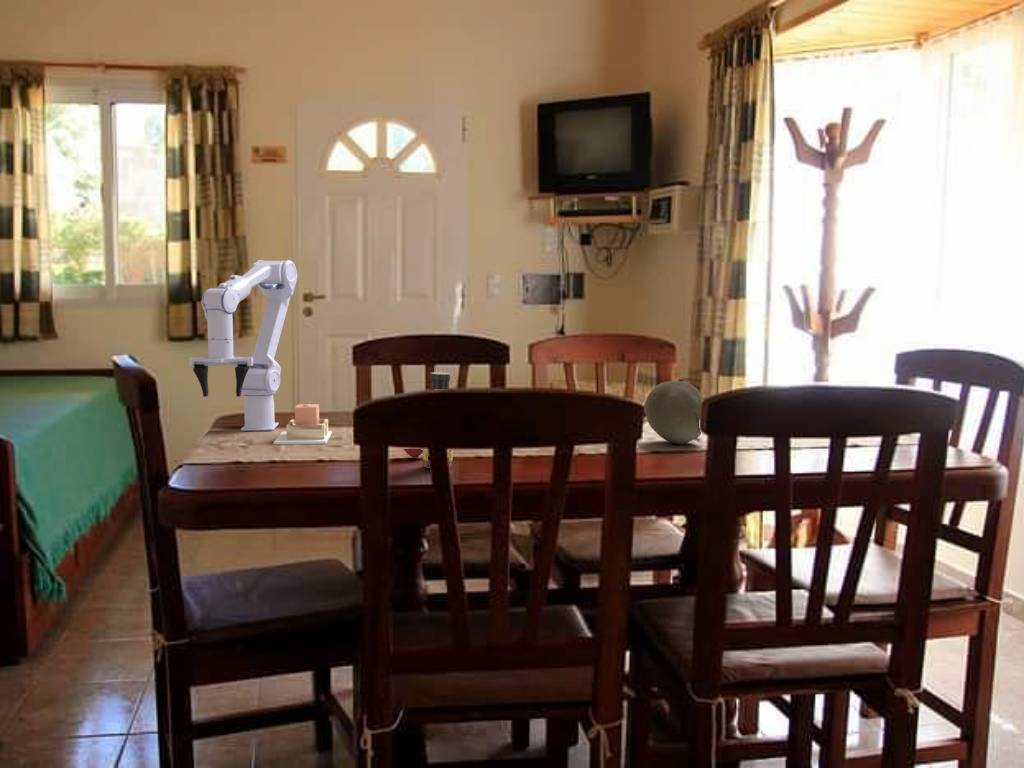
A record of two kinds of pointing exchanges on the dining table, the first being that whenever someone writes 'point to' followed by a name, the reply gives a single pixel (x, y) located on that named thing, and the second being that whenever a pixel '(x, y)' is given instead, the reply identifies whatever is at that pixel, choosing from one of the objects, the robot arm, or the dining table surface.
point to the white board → (283, 440)
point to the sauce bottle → (438, 382)
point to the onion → (414, 452)
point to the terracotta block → (307, 414)
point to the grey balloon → (674, 411)
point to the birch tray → (307, 430)
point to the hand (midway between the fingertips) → (222, 396)
